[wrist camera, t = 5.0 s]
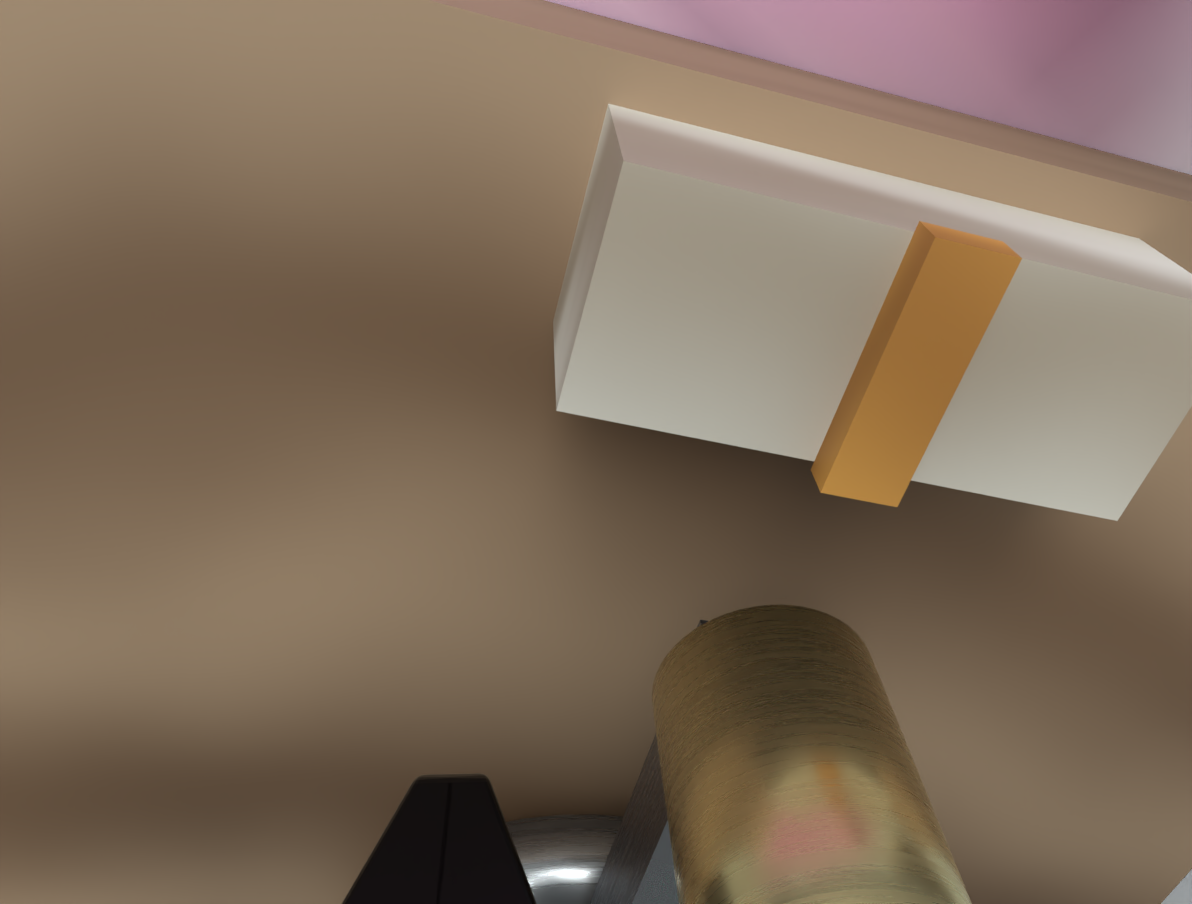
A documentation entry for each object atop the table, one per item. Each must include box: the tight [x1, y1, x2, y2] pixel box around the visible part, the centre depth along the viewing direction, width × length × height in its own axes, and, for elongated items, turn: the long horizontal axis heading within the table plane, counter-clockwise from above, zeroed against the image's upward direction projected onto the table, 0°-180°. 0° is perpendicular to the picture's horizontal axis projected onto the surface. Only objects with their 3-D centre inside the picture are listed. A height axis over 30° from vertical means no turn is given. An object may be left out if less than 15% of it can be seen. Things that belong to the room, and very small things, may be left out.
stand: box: [0, 0, 1192, 904], centre depth 16 cm, size 24×20×4 cm
